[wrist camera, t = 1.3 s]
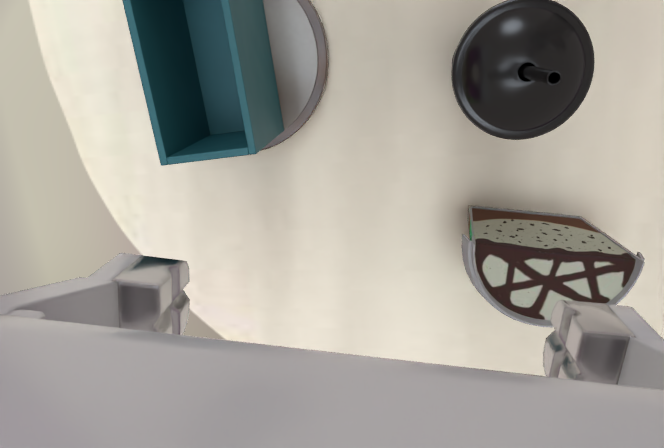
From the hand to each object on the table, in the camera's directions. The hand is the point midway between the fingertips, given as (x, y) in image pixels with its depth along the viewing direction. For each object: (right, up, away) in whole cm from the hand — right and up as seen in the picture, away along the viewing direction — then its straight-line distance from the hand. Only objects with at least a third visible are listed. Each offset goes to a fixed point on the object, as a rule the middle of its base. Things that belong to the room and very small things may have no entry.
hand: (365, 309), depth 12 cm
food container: (+15, 0, +36) cm, 39 cm away
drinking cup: (+11, +15, +32) cm, 37 cm away
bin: (-9, +15, +32) cm, 36 cm away
